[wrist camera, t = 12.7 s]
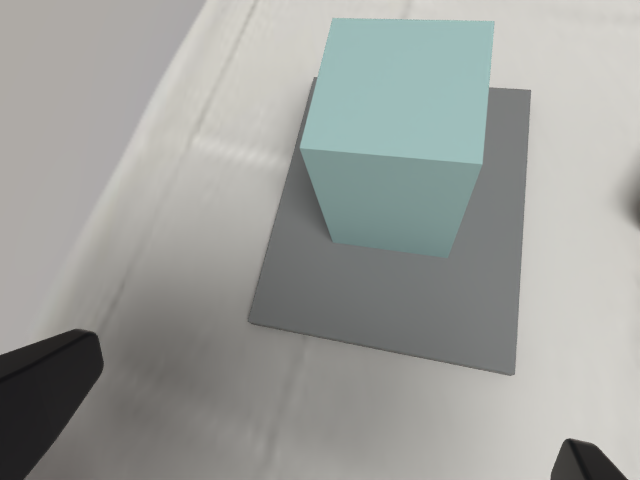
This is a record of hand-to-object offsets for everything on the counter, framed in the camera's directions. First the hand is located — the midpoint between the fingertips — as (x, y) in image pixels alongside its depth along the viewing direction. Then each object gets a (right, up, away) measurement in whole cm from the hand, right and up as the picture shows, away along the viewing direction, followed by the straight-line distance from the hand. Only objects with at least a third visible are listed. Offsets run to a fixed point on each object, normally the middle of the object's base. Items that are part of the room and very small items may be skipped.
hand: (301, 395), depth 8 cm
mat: (+5, +5, +16) cm, 17 cm away
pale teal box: (+5, +5, +15) cm, 17 cm away
